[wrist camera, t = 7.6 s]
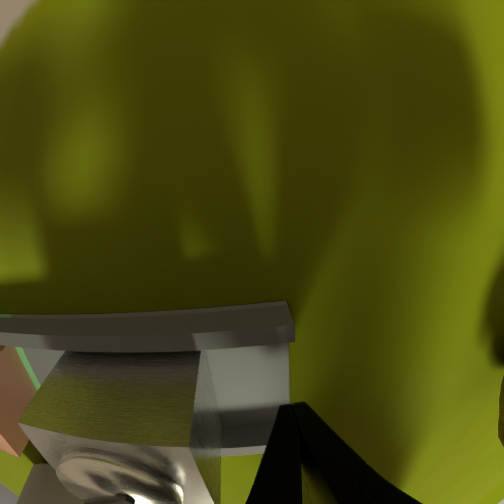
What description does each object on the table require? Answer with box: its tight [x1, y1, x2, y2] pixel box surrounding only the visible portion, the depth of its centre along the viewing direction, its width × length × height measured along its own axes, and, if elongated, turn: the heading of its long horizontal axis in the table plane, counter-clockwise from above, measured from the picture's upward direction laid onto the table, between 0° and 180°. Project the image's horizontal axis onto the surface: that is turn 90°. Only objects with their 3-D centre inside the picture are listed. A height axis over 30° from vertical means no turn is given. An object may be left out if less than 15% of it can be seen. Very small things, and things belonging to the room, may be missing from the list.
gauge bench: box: [0, 300, 295, 456], centre depth 7 cm, size 18×6×6 cm, turn 95°
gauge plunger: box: [17, 350, 222, 504], centre depth 8 cm, size 5×4×5 cm
